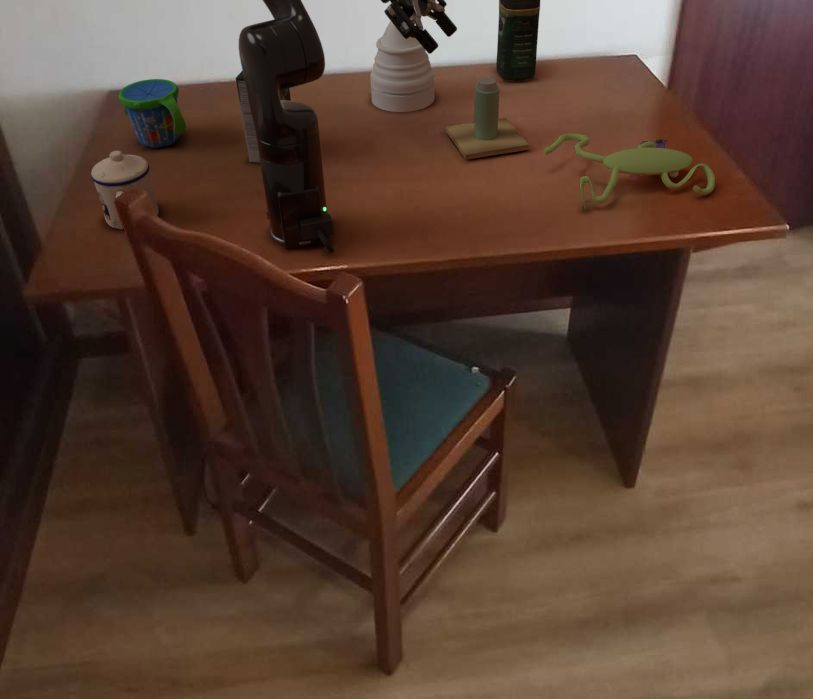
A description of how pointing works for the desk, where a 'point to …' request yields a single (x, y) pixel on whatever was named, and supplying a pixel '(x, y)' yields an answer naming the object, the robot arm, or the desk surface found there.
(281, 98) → the coffee box
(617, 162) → the figurine
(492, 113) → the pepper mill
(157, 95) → the snack cup
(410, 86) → the honey pot
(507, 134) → the plate
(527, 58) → the coffee jar
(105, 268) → the desk surface
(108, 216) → the teacup with lid
